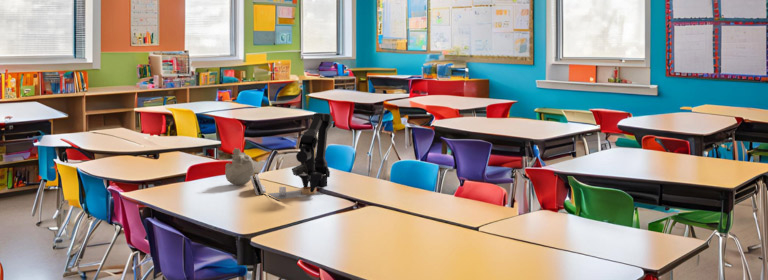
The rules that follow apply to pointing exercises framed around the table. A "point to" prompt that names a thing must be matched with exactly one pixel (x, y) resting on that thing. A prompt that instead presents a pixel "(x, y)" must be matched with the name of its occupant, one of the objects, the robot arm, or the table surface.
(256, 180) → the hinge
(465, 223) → the table surface
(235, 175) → the grey lumpy stone
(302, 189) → the ring
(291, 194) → the base
